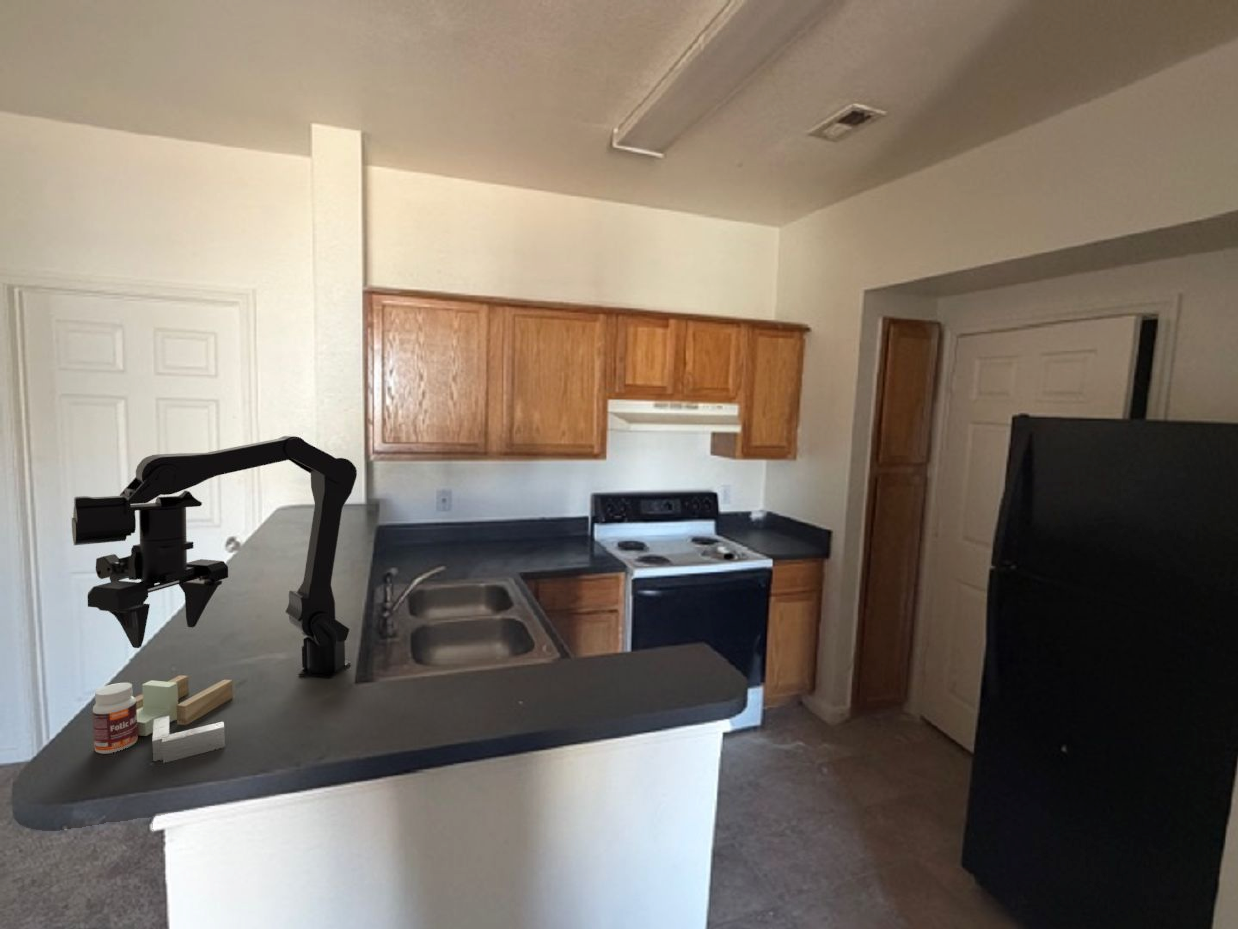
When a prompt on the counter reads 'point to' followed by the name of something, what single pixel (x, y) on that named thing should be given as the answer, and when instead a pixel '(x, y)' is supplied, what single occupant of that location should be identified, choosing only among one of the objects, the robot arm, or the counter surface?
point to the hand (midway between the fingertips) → (165, 636)
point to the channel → (197, 699)
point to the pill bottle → (114, 718)
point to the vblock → (185, 740)
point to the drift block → (156, 704)
